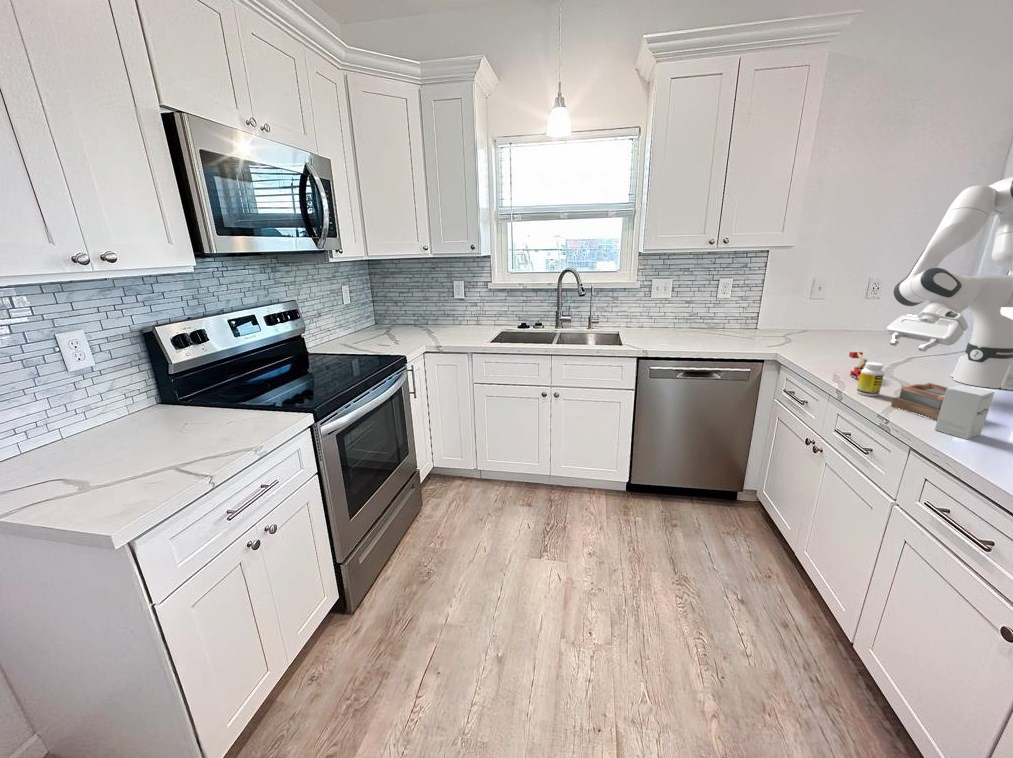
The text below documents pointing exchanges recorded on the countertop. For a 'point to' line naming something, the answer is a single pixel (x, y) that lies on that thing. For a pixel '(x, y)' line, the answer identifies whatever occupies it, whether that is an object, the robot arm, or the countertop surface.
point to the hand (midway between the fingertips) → (906, 347)
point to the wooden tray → (921, 399)
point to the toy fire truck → (856, 371)
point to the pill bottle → (870, 379)
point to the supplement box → (964, 411)
